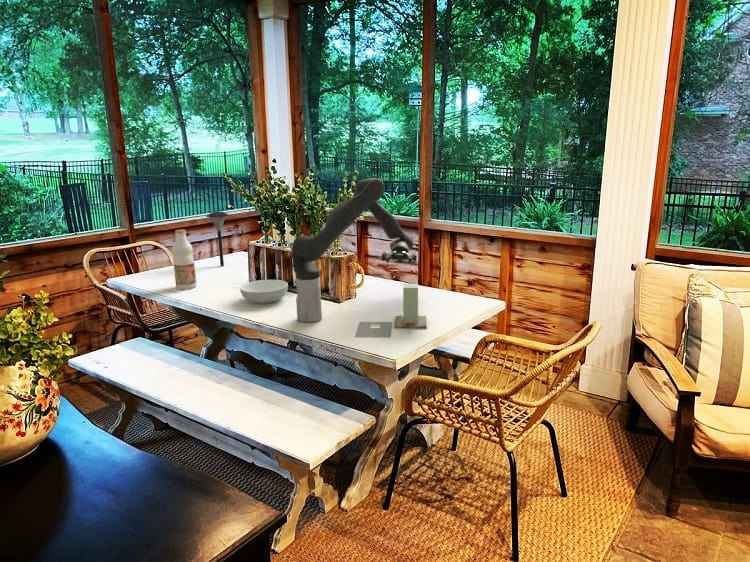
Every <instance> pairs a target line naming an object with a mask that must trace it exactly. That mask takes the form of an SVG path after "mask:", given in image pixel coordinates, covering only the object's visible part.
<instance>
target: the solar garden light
mask: <svg viewBox="0 0 750 562" xmlns="http://www.w3.org/2000/svg"><path fill="white" fill-rule="evenodd" d="M228 216H230V214H228V213H226V212H224V211H211V212H210V213H208V215H206V218H210V220H211V221H212V224H213V225H214V227H215V229H216V231H217V239H218V241H217V242H218V251H219V252H218V253H219V261H220V262H219V263H220V267H221V266H223V267H224V266H225V265H224V254H223V242H222V241H223V240H222V231H221V230H222V229H223V226H224V222H225V220H226V217H228Z"/></svg>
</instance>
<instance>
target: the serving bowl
mask: <svg viewBox="0 0 750 562" xmlns="http://www.w3.org/2000/svg"><path fill="white" fill-rule="evenodd" d="M288 288H289V285H288V282H287V281H284V280H280V279H259V280H254V281H249V282H246V283H244V284H242V285H241V286H240V287H239V290H240V293H241V295H242V297H243V298H244V299H245V300H246V301H248V302H252V303H256V304H257V303H258V304H269V303H273V302H275V301H279V300H280V299H282V298H284V297H285V296H286V294H287V291H288V290H289V289H288Z"/></svg>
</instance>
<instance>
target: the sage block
mask: <svg viewBox="0 0 750 562" xmlns="http://www.w3.org/2000/svg"><path fill="white" fill-rule="evenodd" d="M402 288H403V290H402V291H403V293H402V294H403V295H402V297H403V298H402V299H403V303H402V305H403V307H402V309H403V311H402V313H403V315H402V316H403V323H418V316H419V284H418V283H403V287H402Z"/></svg>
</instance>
